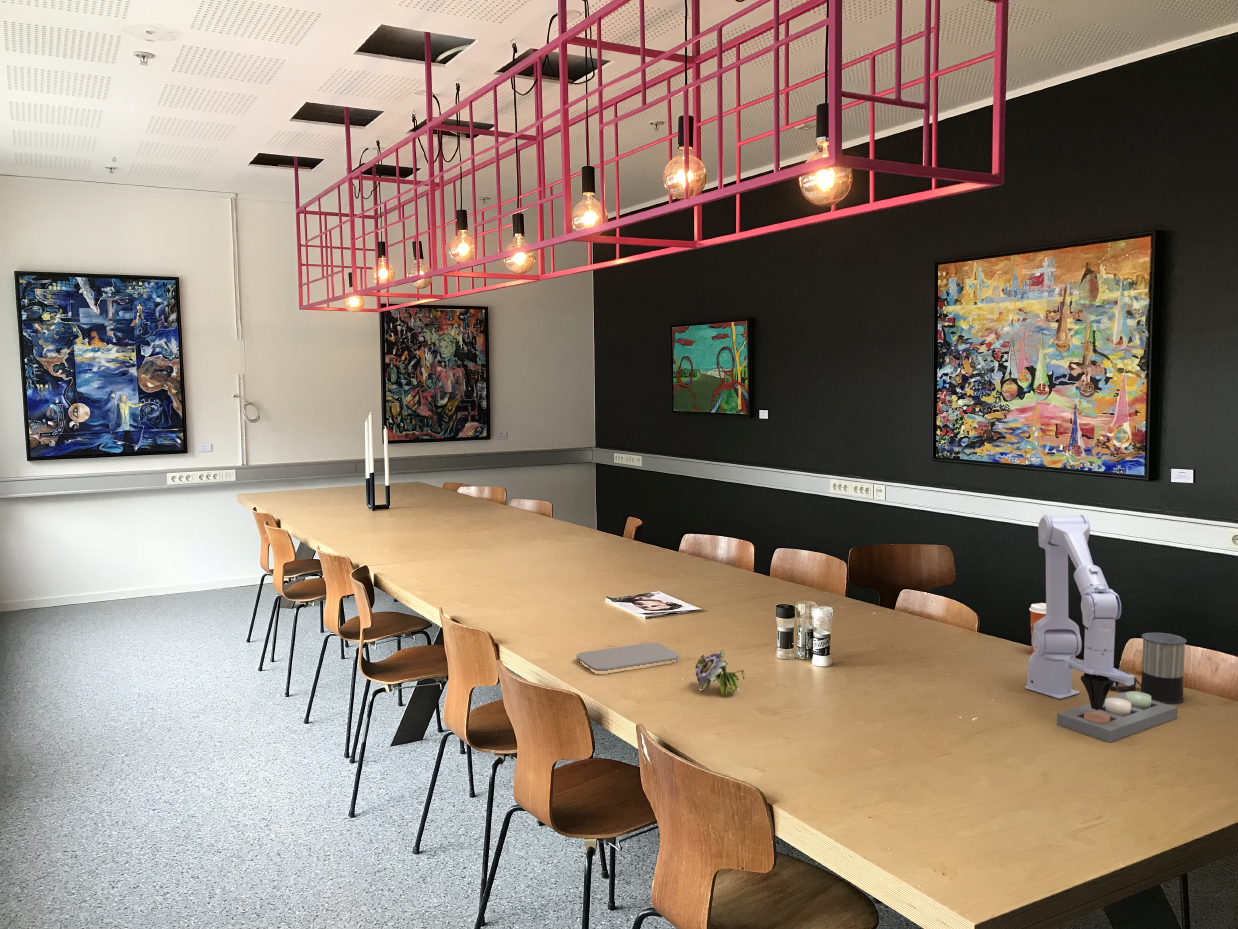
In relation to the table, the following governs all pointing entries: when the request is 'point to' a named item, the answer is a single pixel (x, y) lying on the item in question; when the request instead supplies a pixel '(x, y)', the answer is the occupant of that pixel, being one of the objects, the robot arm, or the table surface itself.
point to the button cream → (1118, 706)
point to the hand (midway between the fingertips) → (1096, 708)
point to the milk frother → (1161, 668)
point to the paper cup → (1037, 616)
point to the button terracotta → (1097, 717)
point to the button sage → (1139, 699)
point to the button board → (1117, 720)
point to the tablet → (627, 656)
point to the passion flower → (716, 673)
